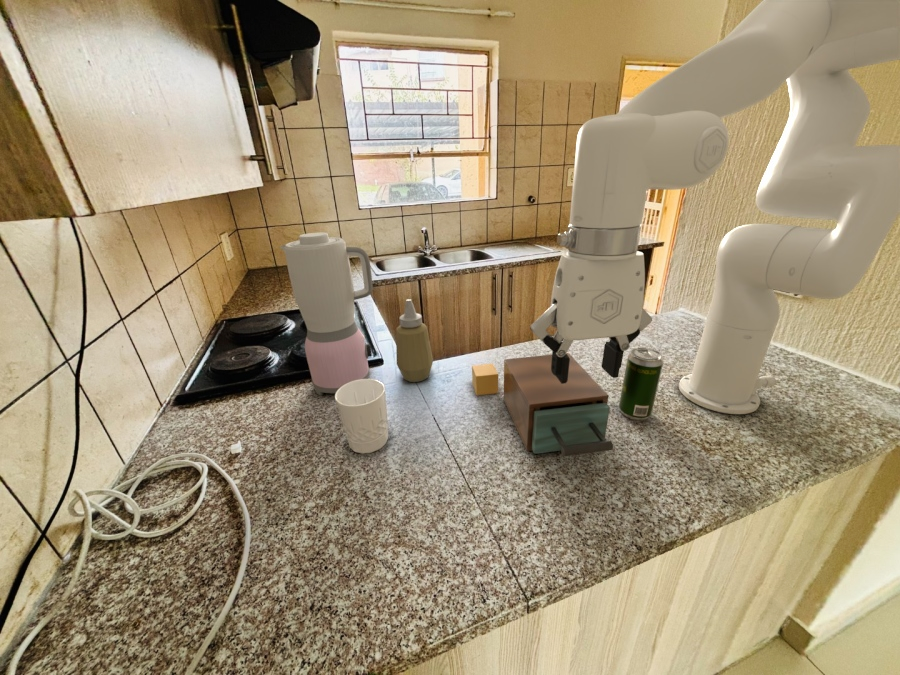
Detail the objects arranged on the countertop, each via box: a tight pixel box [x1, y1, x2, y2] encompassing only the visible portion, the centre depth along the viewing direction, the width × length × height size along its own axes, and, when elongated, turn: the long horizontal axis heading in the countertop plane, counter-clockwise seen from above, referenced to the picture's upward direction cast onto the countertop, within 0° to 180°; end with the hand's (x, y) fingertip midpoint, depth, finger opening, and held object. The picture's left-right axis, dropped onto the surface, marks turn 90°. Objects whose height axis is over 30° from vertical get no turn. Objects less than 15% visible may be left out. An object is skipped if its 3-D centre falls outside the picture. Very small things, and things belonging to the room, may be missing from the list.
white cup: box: [334, 378, 389, 455], centre depth 60 cm, size 8×8×10 cm
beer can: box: [618, 346, 664, 421], centre depth 63 cm, size 5×5×12 cm
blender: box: [279, 231, 374, 396], centre depth 73 cm, size 16×12×32 cm
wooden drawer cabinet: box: [502, 352, 609, 452], centre depth 63 cm, size 15×13×9 cm
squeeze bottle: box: [395, 298, 434, 383], centre depth 77 cm, size 8×8×18 cm
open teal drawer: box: [532, 401, 614, 457], centre depth 59 cm, size 19×11×7 cm, turn 7°
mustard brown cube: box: [471, 363, 499, 396], centre depth 74 cm, size 4×4×4 cm
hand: (584, 374), depth 49 cm, fingers open, 6 cm apart
